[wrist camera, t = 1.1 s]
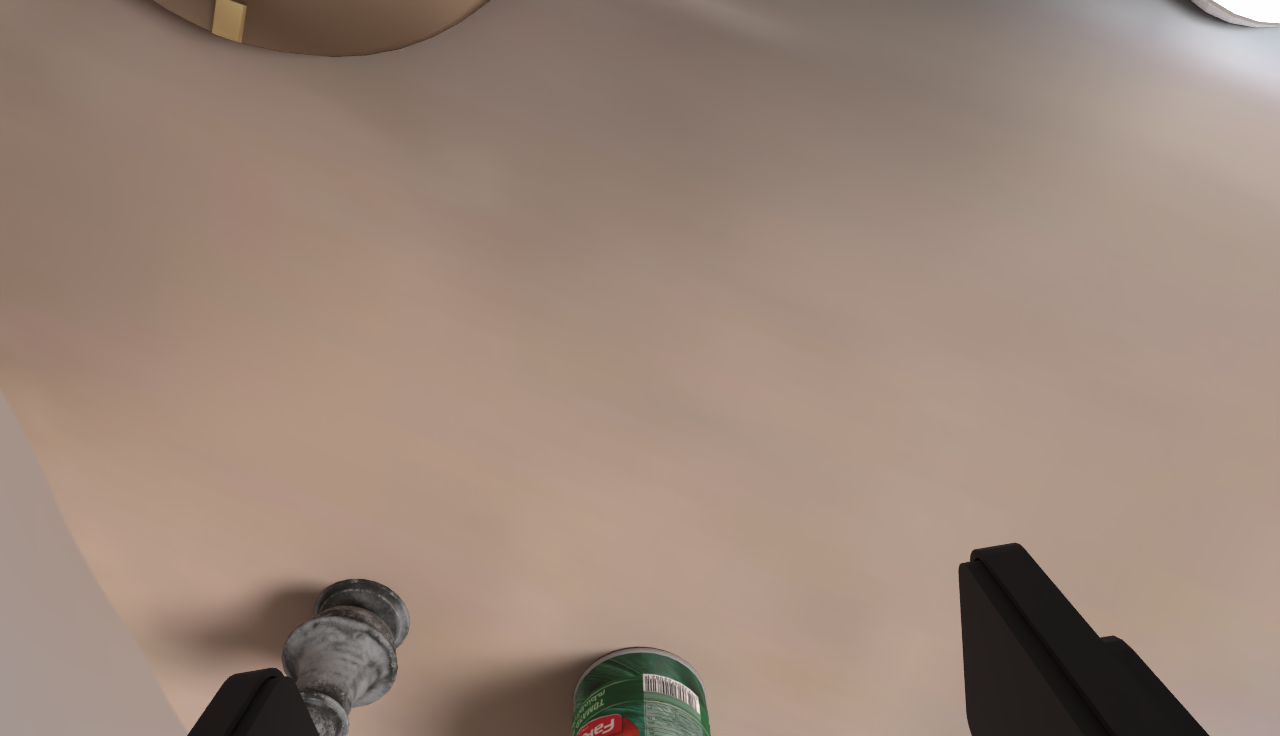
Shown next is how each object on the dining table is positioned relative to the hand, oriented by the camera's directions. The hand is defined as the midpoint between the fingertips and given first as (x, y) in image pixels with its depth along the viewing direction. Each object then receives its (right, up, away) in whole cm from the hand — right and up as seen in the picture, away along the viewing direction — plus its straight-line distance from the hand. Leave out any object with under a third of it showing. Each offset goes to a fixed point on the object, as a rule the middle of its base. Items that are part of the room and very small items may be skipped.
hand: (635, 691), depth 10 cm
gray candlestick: (-16, -9, +32) cm, 36 cm away
